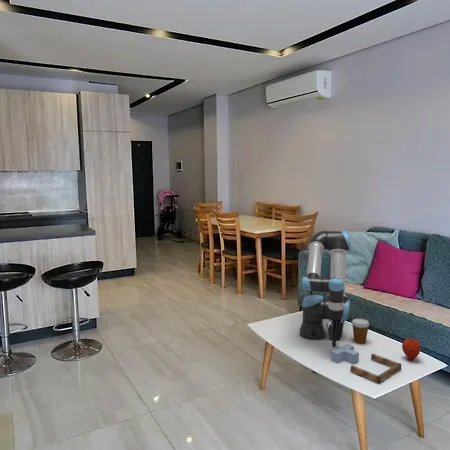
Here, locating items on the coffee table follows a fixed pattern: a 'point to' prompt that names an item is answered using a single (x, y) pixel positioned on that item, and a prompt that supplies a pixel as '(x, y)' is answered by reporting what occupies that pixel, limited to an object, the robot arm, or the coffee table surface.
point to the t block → (345, 354)
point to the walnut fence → (382, 377)
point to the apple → (411, 348)
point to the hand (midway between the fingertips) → (335, 352)
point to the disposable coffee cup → (360, 330)
